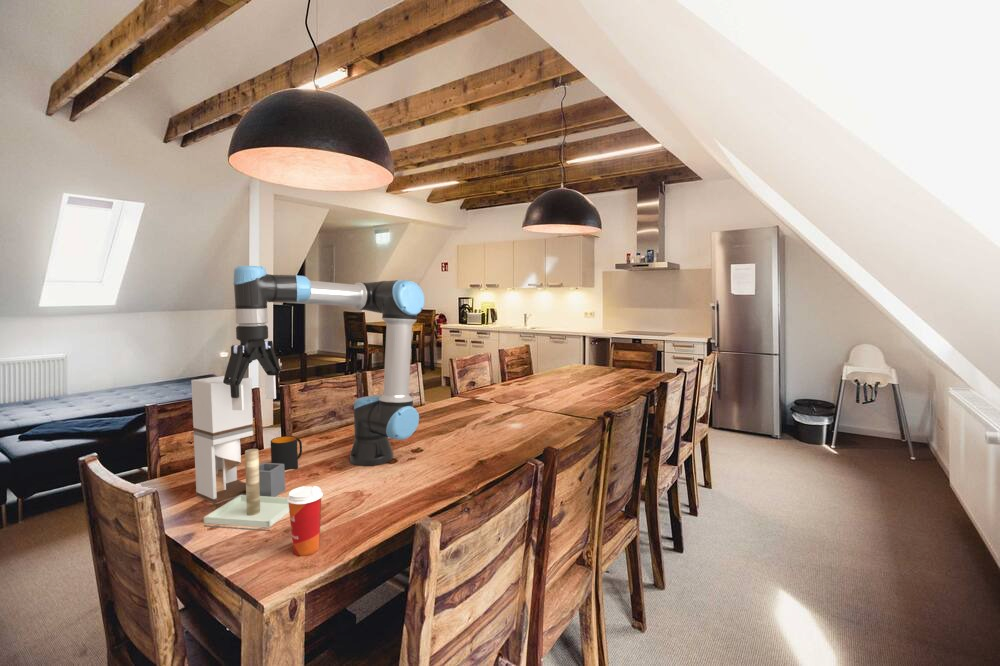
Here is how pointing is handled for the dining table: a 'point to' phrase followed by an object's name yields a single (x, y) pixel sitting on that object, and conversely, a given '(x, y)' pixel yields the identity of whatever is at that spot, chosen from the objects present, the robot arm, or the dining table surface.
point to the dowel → (252, 481)
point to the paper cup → (305, 519)
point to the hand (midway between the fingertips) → (255, 404)
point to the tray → (237, 515)
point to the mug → (286, 451)
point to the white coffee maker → (219, 437)
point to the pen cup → (271, 479)
